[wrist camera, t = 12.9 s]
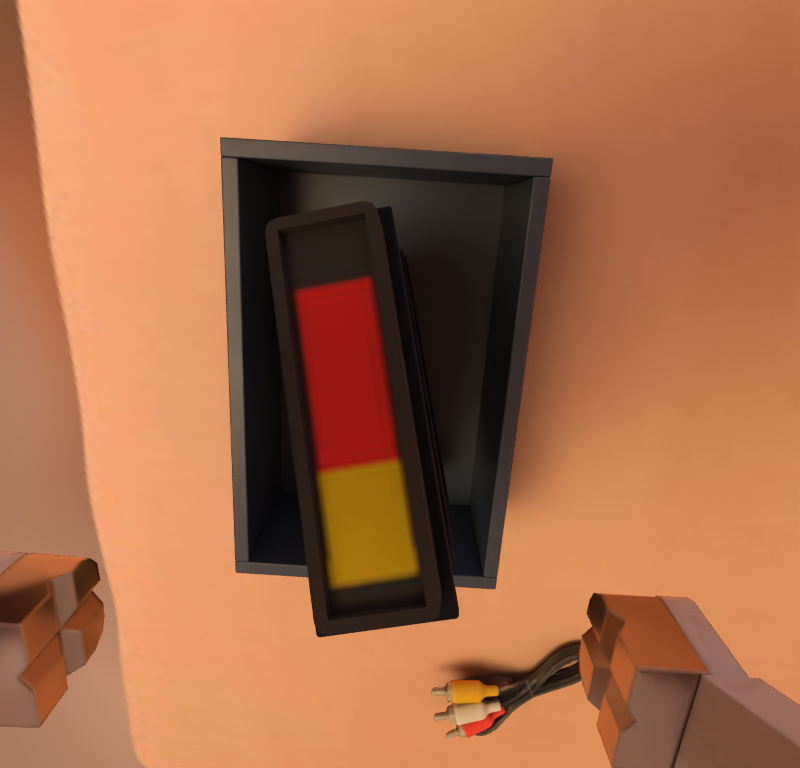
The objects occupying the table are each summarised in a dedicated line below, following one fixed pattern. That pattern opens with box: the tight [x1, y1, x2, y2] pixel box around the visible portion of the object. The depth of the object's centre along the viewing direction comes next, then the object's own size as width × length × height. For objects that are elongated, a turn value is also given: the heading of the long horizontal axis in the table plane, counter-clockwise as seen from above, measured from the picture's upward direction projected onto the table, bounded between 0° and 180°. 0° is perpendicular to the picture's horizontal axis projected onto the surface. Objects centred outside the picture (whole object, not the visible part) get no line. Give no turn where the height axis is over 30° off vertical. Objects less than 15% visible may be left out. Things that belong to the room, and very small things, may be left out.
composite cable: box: [431, 644, 582, 739], centre depth 32 cm, size 10×5×2 cm, turn 106°
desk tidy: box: [220, 137, 553, 589], centre depth 24 cm, size 17×11×6 cm, turn 177°
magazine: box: [265, 201, 459, 637], centre depth 21 cm, size 4×13×15 cm, turn 11°
